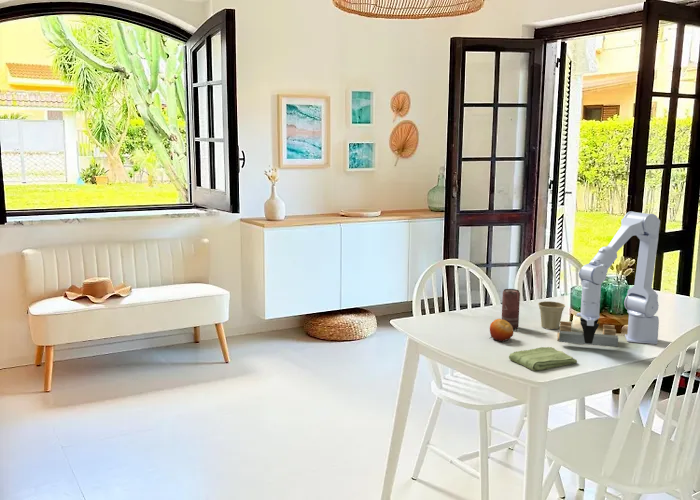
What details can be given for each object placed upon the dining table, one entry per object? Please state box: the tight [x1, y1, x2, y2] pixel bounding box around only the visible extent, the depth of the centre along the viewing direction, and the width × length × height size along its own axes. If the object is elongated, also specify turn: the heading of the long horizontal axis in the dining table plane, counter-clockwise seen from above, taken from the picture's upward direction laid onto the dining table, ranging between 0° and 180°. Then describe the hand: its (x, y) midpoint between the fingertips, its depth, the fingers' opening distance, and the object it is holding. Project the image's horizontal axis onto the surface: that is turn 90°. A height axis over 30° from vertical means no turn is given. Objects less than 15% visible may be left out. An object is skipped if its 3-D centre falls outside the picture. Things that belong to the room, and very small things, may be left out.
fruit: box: [489, 318, 514, 342], centre depth 224 cm, size 8×8×8 cm
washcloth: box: [508, 346, 578, 372], centre depth 201 cm, size 13×18×3 cm
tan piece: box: [556, 320, 617, 342], centre depth 222 cm, size 19×8×5 cm, turn 72°
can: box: [501, 288, 521, 331], centre depth 237 cm, size 6×6×14 cm
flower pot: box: [537, 300, 566, 330], centre depth 238 cm, size 9×9×9 cm
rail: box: [558, 330, 619, 348], centre depth 214 cm, size 18×3×3 cm, turn 72°
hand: (588, 341), depth 214 cm, fingers closed on rail, 3 cm apart
